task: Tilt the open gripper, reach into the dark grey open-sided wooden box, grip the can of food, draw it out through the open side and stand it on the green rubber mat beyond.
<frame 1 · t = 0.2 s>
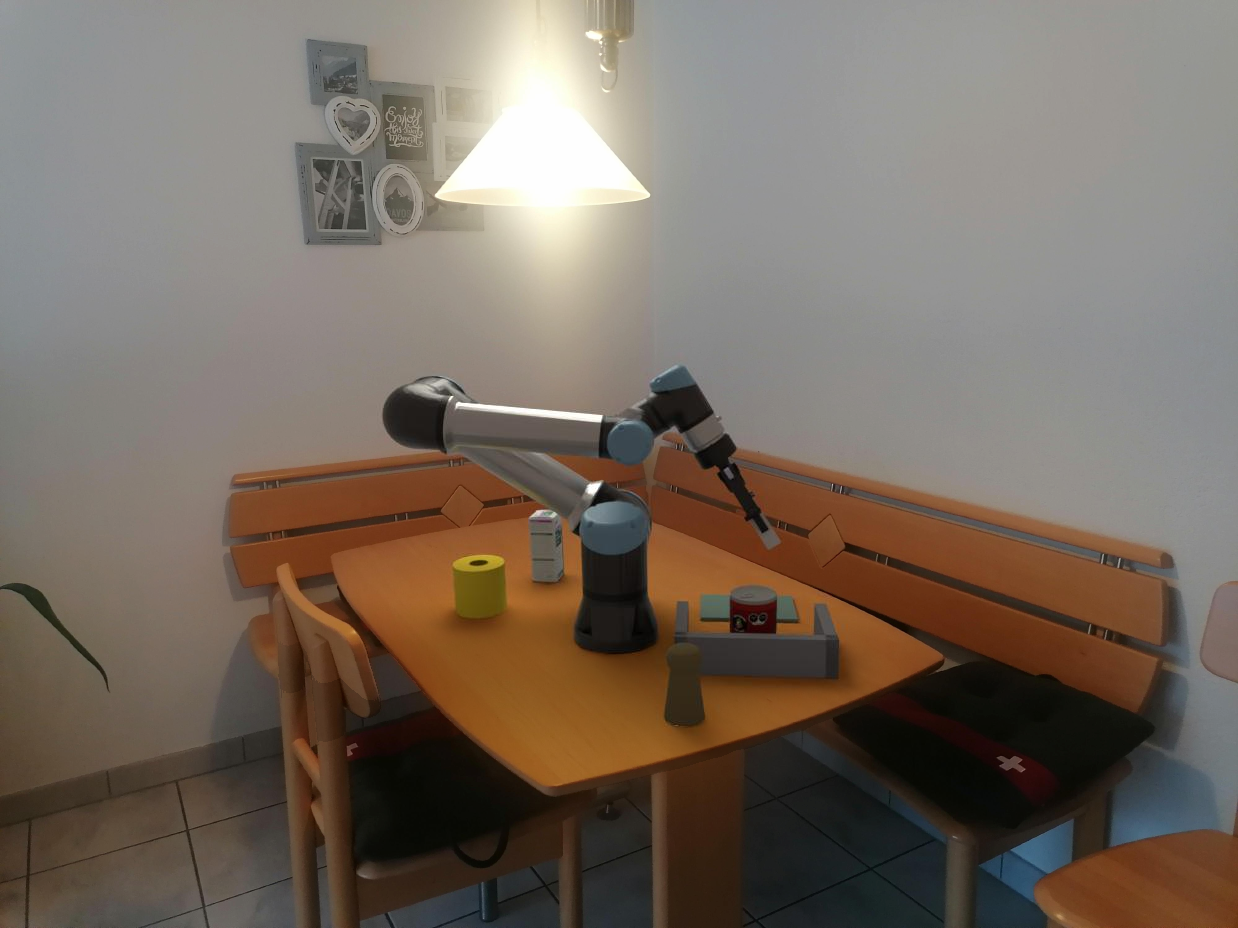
hand: (769, 537, 159), 15 cm above the table, tool tilted 30°, fingers open, 13 cm apart
green mat: (747, 609, 164), on the table
open box: (752, 653, 145), on the table
canned food: (752, 654, 145), on the table
tape roll: (481, 609, 168), on the table
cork: (684, 717, 125), on the table
syrup box: (548, 578, 184), on the table
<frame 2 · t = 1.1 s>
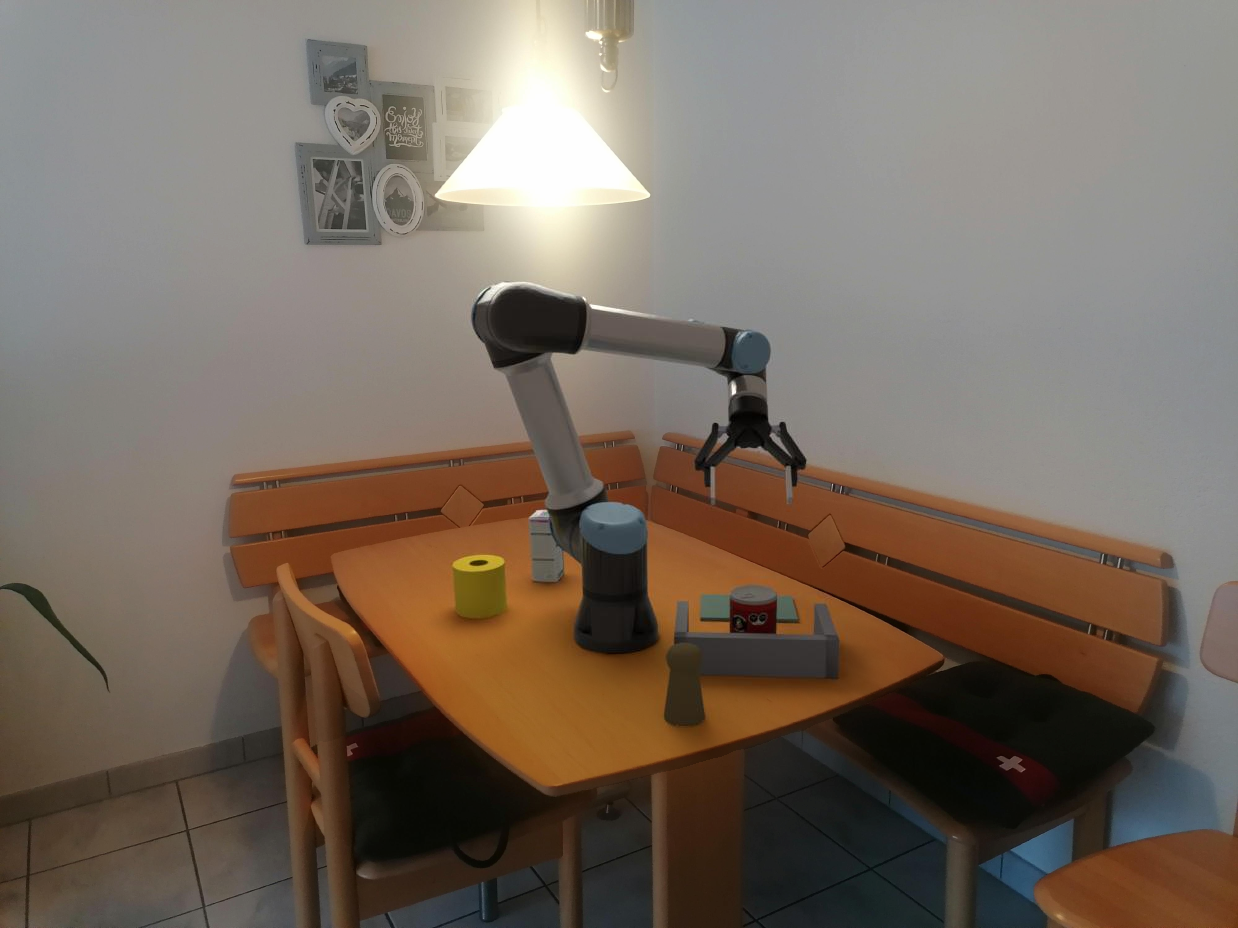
hand: (751, 501, 152), 23 cm above the table, tool tilted 45°, fingers open, 13 cm apart
nothing on the table moved.
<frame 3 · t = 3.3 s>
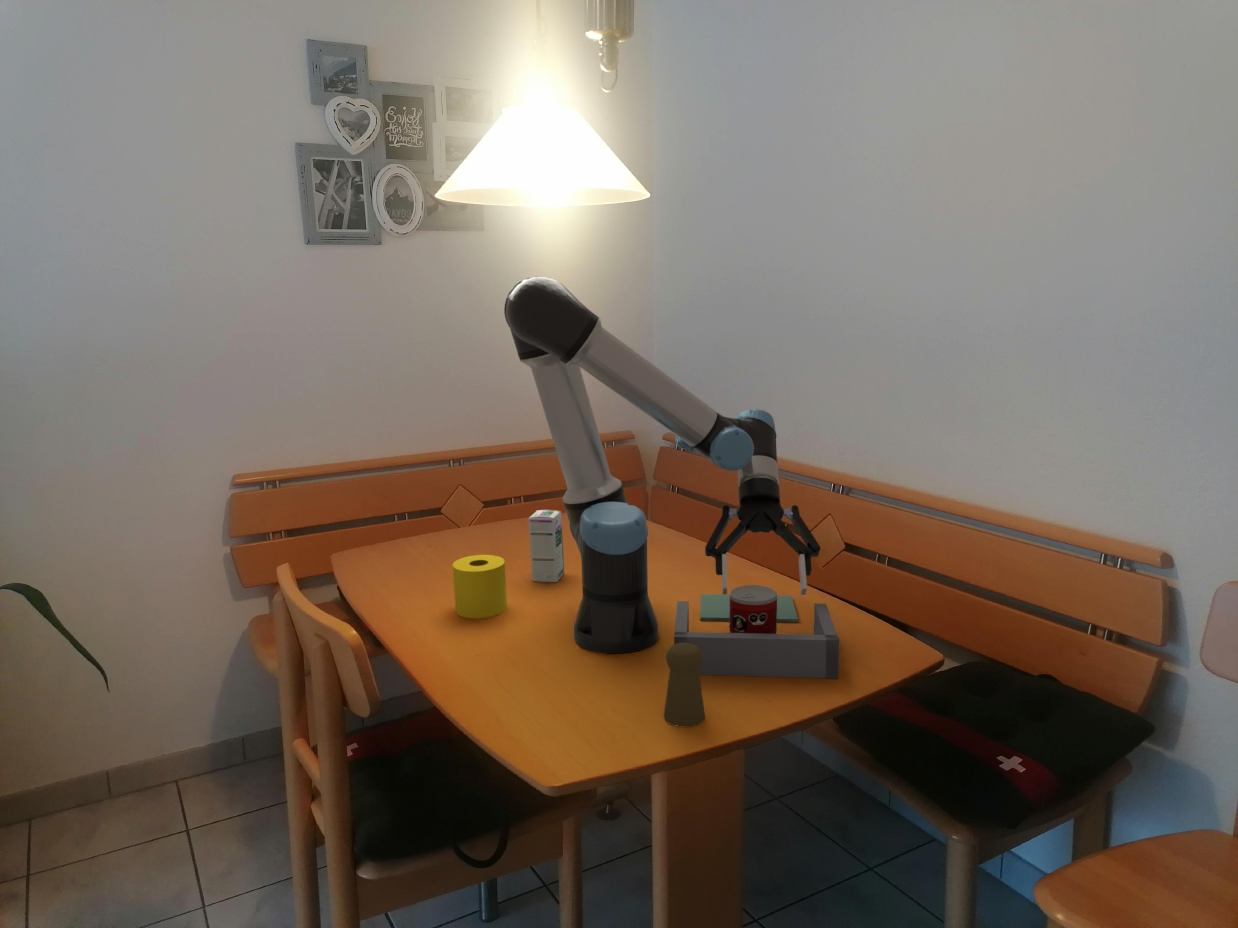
hand: (764, 591, 148), 9 cm above the table, tool tilted 45°, fingers open, 13 cm apart
nothing on the table moved.
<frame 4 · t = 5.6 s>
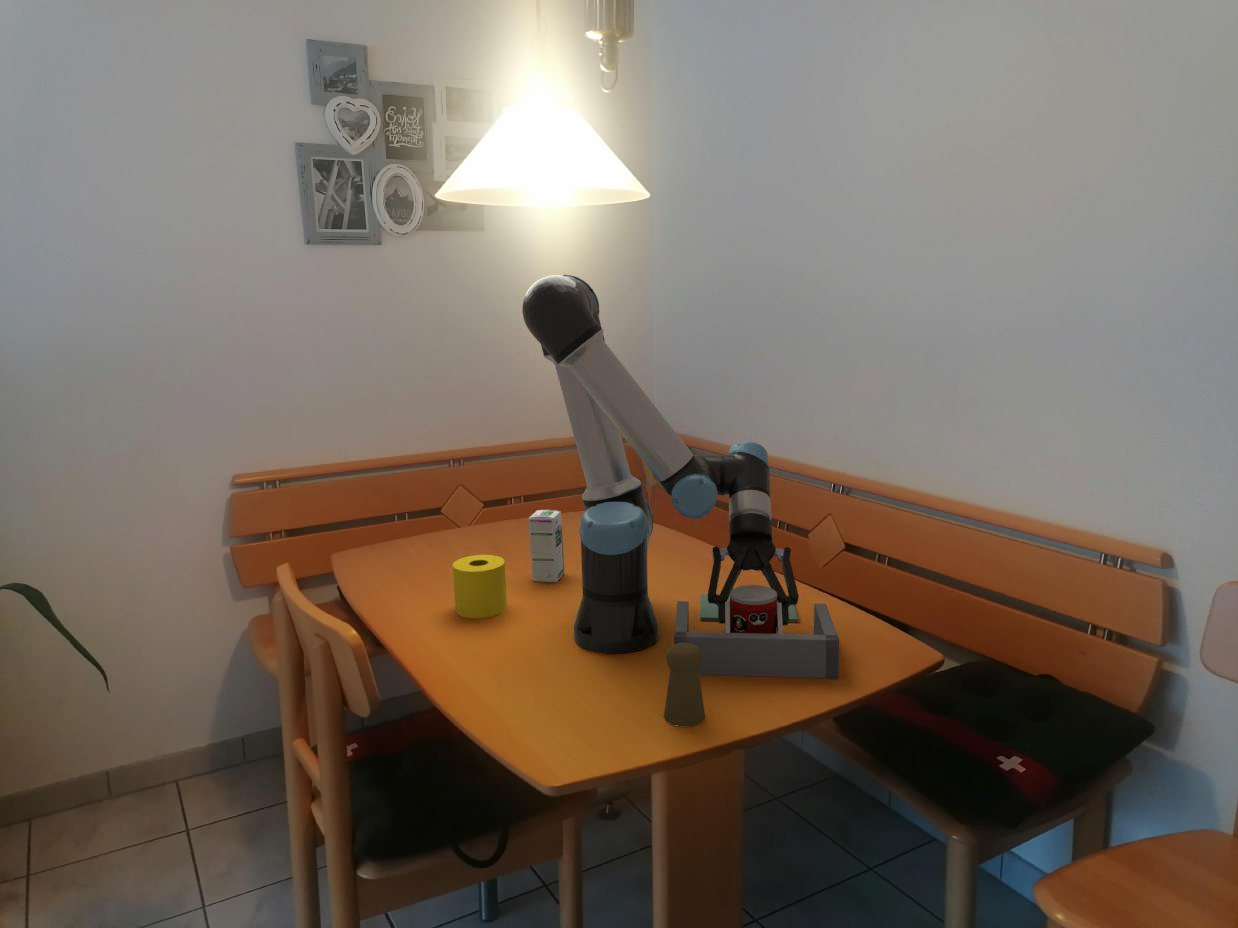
hand: (754, 641, 141), 4 cm above the table, tool tilted 45°, fingers closed on canned food, 8 cm apart
canned food: (752, 654, 145), on the table, touching gripper
everything else where it was.
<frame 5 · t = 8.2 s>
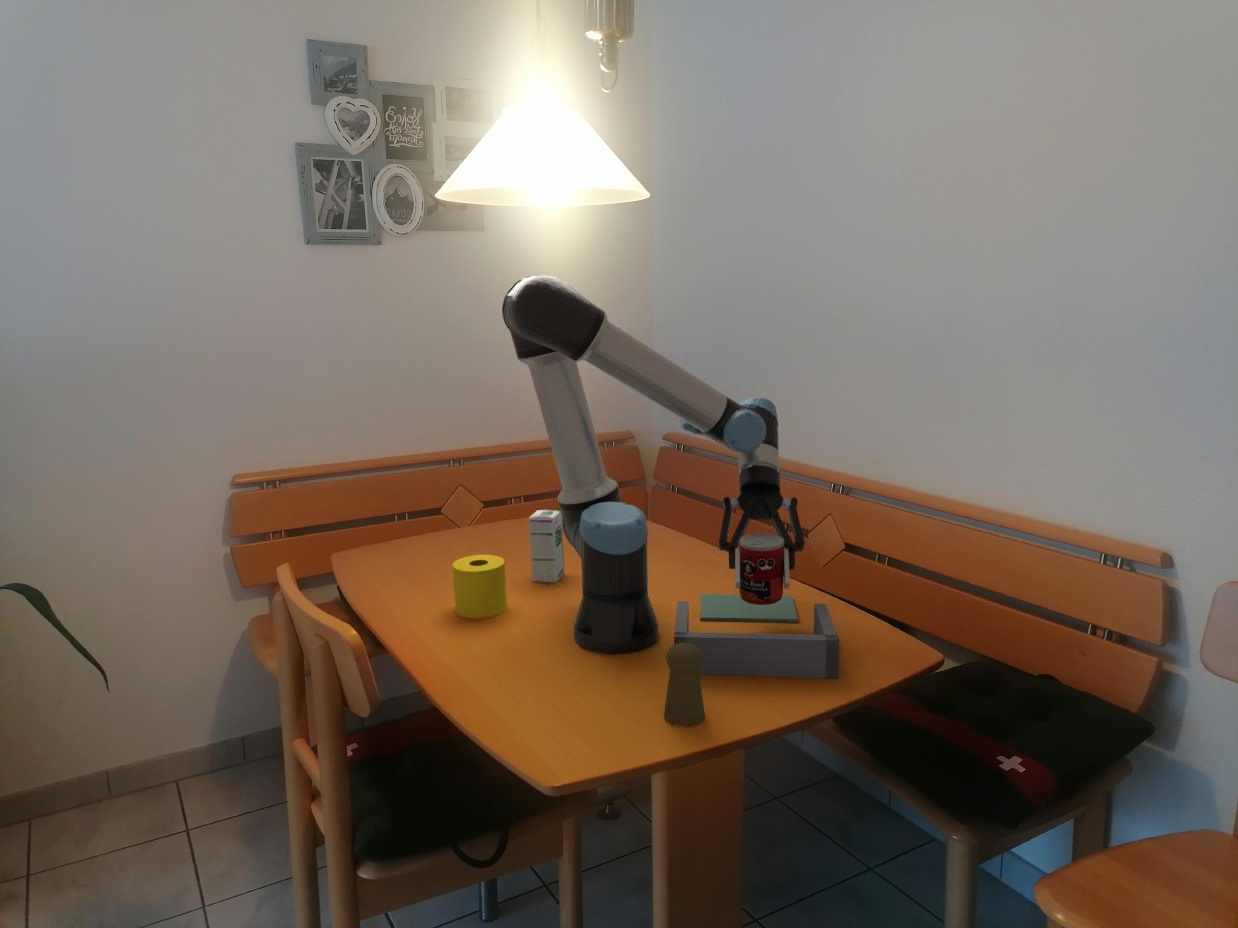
hand: (762, 585, 150), 9 cm above the table, tool tilted 40°, fingers closed on canned food, 8 cm apart
canned food: (761, 597, 154), point 6 cm above the table, touching gripper
everything else where it was.
when the fingers open (5 cm above the table, at t = 10.7 s): canned food stays where it is, resting on green mat.
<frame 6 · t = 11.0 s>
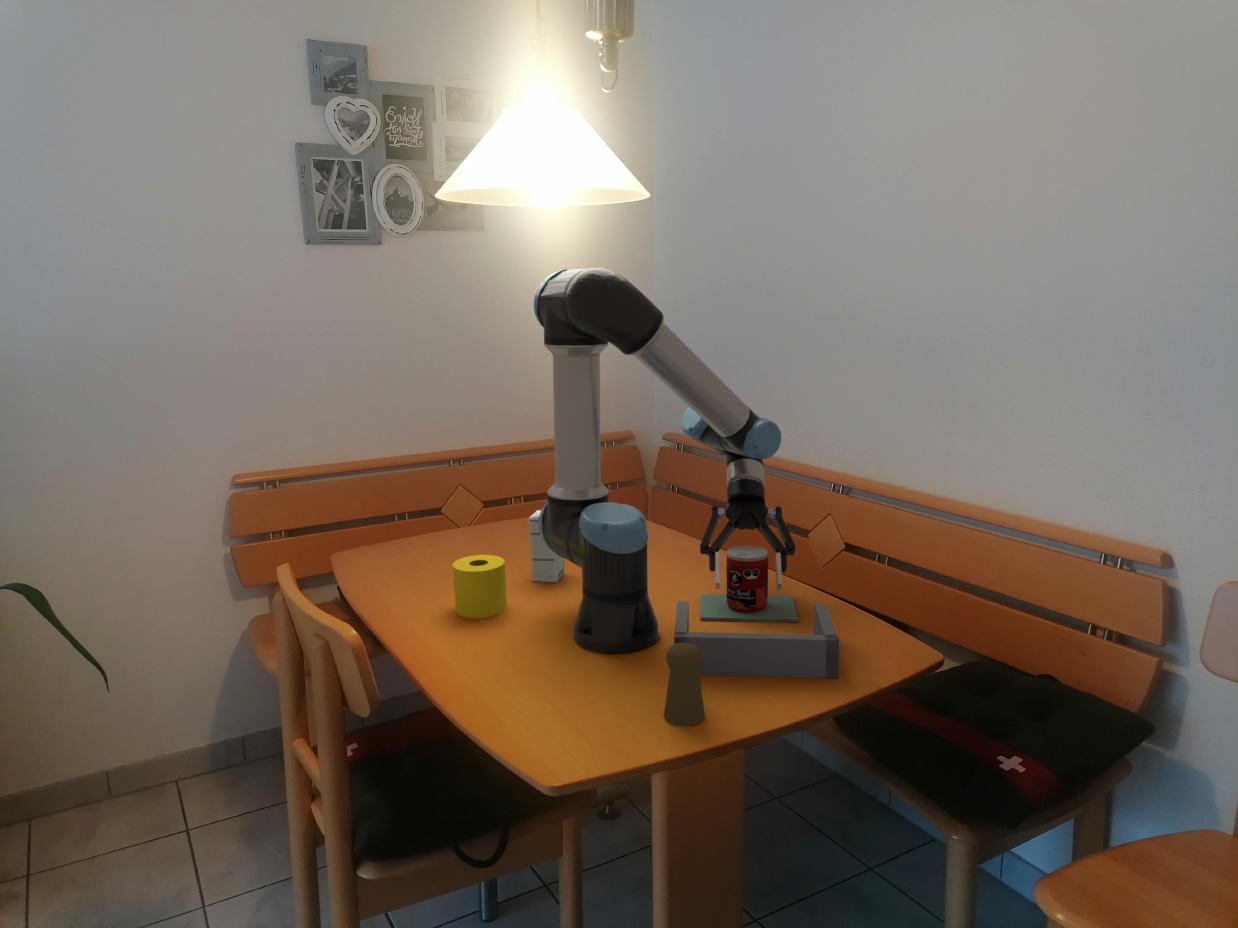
hand: (748, 586, 160), 6 cm above the table, tool tilted 45°, fingers open, 11 cm apart
canned food: (747, 606, 164), resting on green mat
everything else where it was.
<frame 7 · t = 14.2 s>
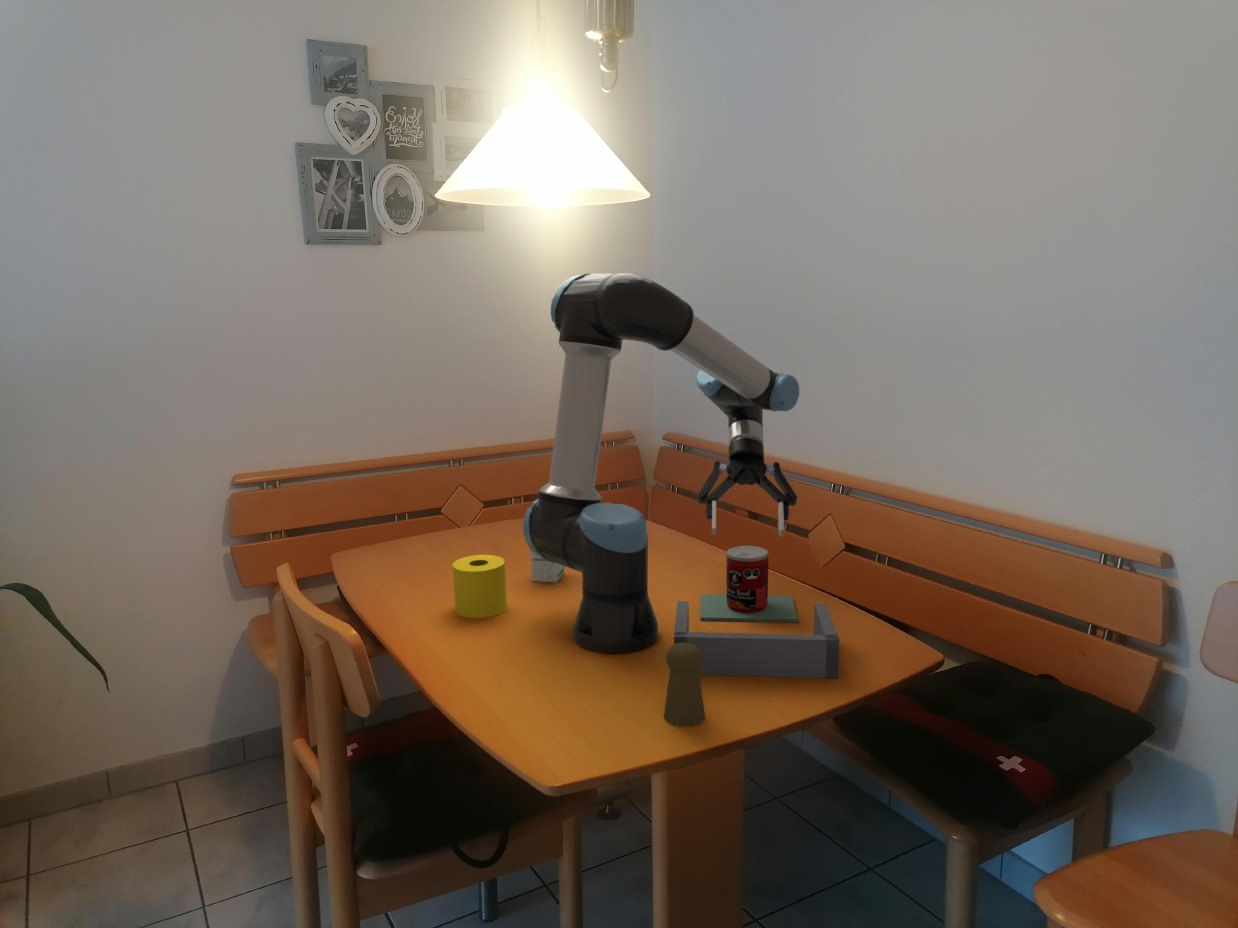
hand: (747, 532, 172), 12 cm above the table, tool tilted 45°, fingers open, 13 cm apart
nothing on the table moved.
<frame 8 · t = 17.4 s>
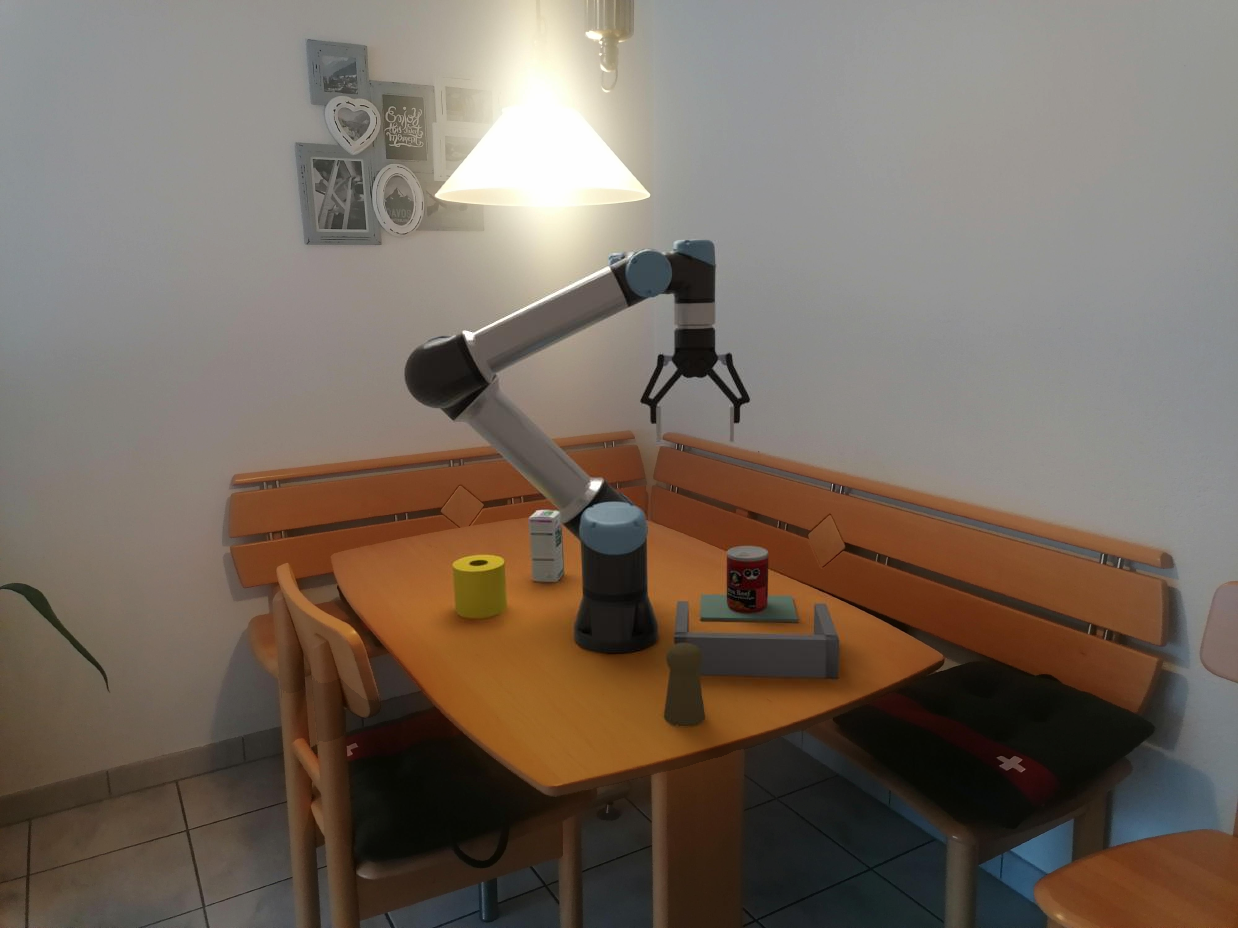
hand: (695, 440, 160), 33 cm above the table, tool pointing down, fingers open, 13 cm apart
nothing on the table moved.
at the end: canned food inside the target area (0.1 cm from its centre), resting on green mat; canned food tilted 0°; the gripper is holding nothing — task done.
